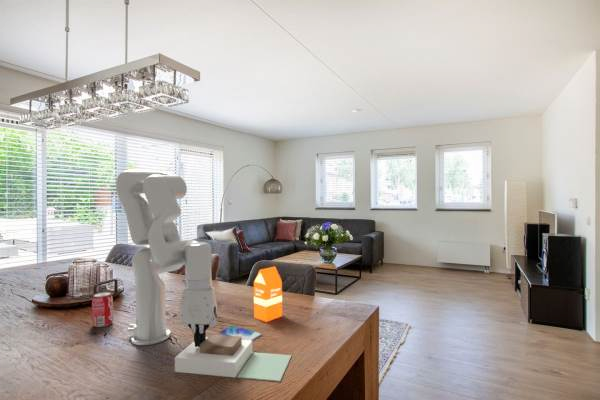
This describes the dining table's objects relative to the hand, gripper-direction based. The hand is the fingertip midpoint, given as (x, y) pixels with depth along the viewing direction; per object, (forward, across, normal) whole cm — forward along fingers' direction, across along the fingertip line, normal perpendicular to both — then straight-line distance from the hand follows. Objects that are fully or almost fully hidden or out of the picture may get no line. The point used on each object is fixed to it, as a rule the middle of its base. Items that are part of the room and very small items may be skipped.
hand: (200, 344), depth 97 cm
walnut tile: (+1, +7, 0) cm, 7 cm away
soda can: (+5, -52, +20) cm, 56 cm away
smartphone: (+5, +5, +20) cm, 21 cm away
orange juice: (+5, +10, +38) cm, 40 cm away
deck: (+5, +5, 0) cm, 7 cm away
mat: (+5, +20, 0) cm, 21 cm away
